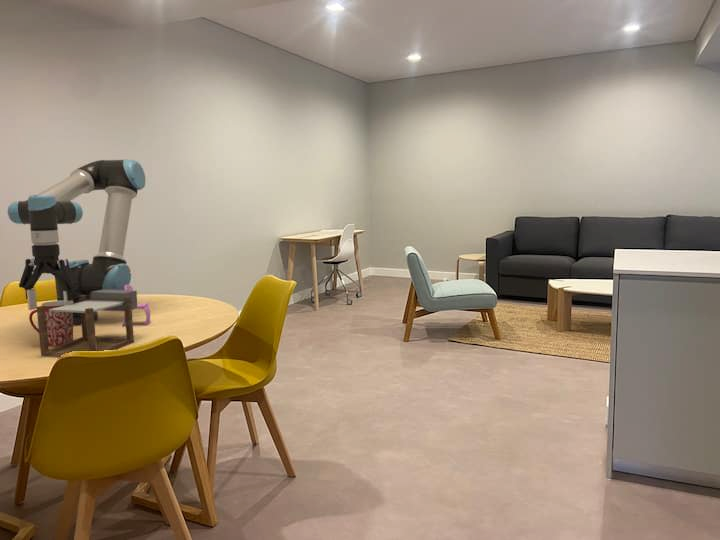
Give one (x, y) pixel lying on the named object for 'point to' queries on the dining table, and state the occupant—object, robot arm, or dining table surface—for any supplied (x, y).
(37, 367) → the dining table surface
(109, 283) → the robot arm
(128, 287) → the purple tall handled piece
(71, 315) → the mug
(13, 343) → the dining table surface
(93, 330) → the frame
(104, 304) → the trapdoor
